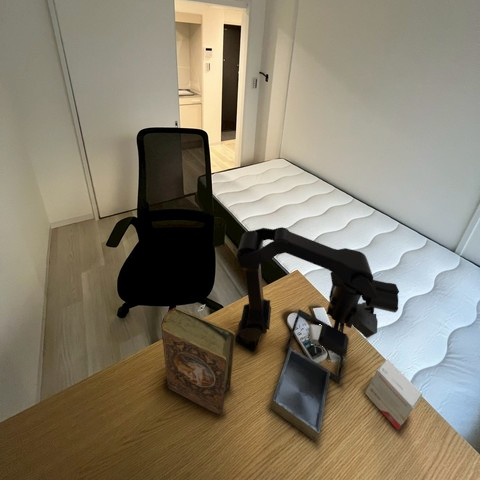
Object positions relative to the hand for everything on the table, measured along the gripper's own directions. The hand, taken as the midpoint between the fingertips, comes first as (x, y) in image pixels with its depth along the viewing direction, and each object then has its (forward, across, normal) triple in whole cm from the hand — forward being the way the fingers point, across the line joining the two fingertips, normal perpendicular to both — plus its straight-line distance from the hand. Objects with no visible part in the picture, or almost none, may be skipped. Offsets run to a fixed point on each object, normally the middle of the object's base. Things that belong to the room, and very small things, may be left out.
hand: (330, 333), depth 67 cm
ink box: (+12, -2, -17) cm, 21 cm away
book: (+12, -25, +27) cm, 39 cm away
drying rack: (+12, +2, +2) cm, 12 cm away
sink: (+12, -12, +3) cm, 17 cm away
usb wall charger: (+12, +2, +2) cm, 12 cm away
